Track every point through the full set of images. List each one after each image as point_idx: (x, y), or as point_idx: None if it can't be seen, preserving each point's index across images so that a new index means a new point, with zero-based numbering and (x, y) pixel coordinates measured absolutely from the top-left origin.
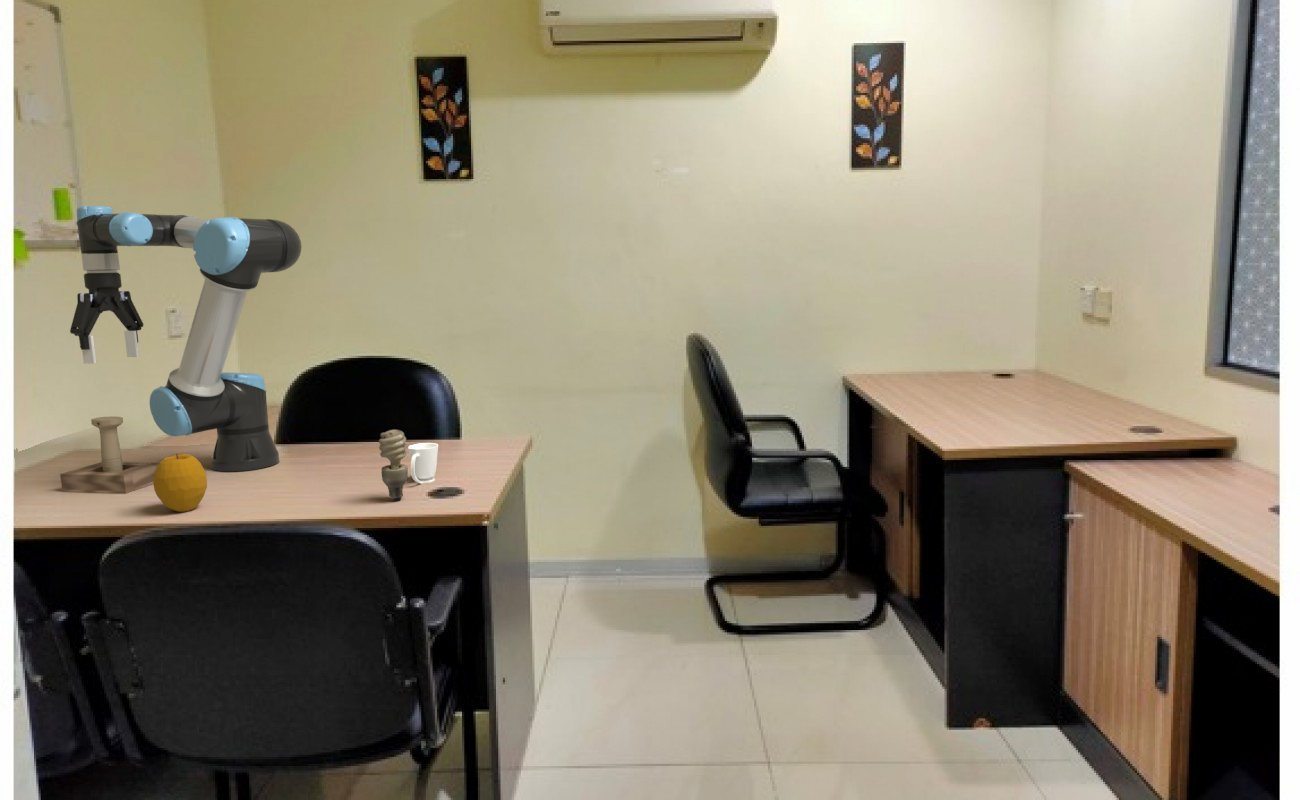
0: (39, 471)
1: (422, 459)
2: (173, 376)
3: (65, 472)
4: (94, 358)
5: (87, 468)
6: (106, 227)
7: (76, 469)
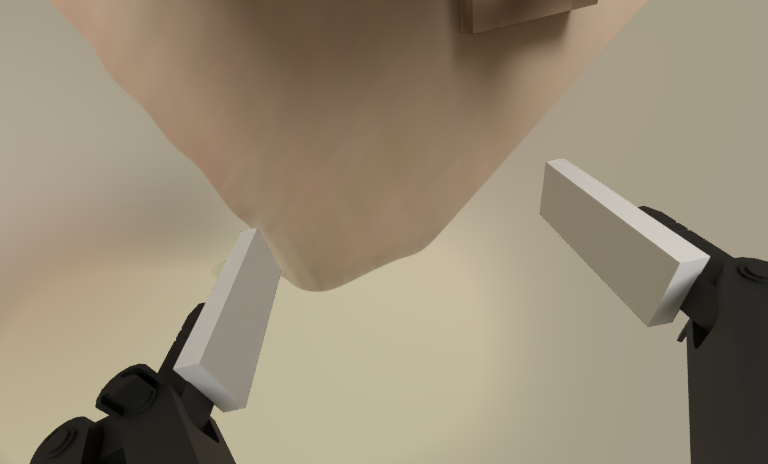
0: (438, 211)
1: None
2: None
3: (582, 6)
4: (570, 170)
5: None
6: None
7: (553, 11)
